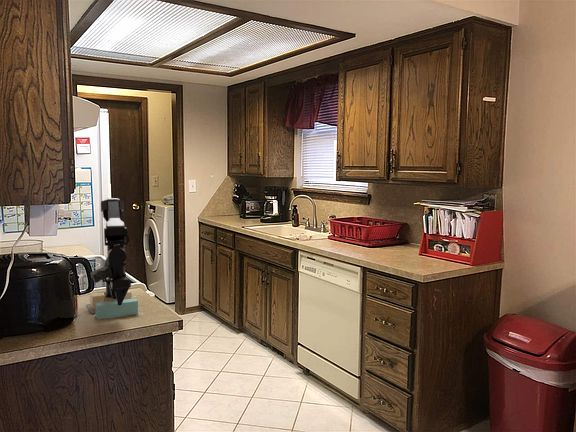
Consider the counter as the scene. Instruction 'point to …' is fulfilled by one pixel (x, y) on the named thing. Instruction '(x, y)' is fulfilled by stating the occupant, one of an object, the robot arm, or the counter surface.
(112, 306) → the teal beam
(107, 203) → the robot arm
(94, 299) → the bridge base
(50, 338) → the counter surface
